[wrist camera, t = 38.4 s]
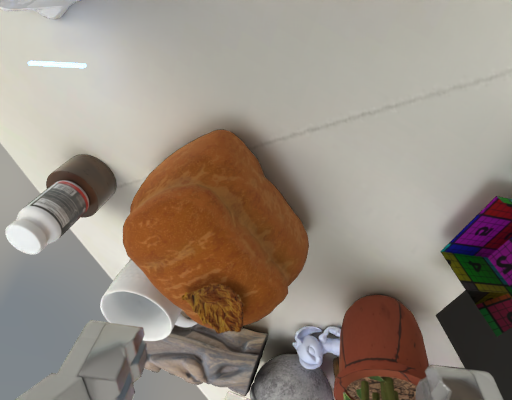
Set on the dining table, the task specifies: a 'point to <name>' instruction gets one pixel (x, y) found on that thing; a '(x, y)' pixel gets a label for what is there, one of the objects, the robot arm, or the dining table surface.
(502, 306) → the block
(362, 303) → the potted plant
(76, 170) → the walnut plinth
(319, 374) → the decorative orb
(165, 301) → the mug
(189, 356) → the sculpture
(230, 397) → the white cube
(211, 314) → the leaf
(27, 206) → the pill bottle
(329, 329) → the toy figurine
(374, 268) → the dining table surface
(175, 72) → the dining table surface
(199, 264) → the bread
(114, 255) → the dining table surface
